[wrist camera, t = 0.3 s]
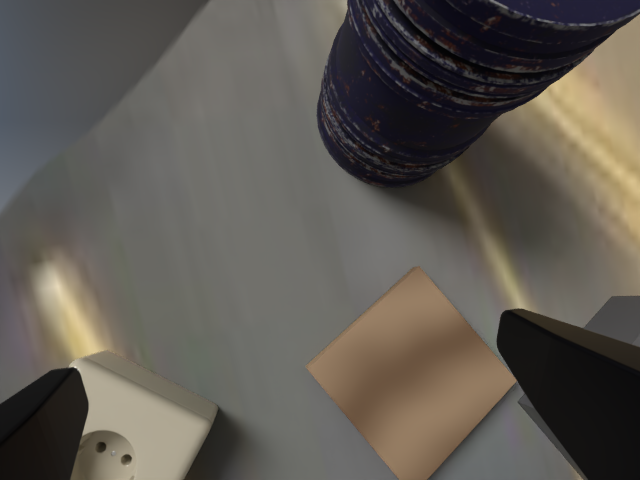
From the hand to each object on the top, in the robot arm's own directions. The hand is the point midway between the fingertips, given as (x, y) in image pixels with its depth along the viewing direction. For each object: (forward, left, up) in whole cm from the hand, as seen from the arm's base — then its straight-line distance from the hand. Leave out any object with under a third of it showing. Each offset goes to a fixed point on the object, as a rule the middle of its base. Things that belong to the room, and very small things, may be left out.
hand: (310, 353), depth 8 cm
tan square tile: (-7, -4, -15) cm, 17 cm away
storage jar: (+6, -14, -15) cm, 21 cm away
